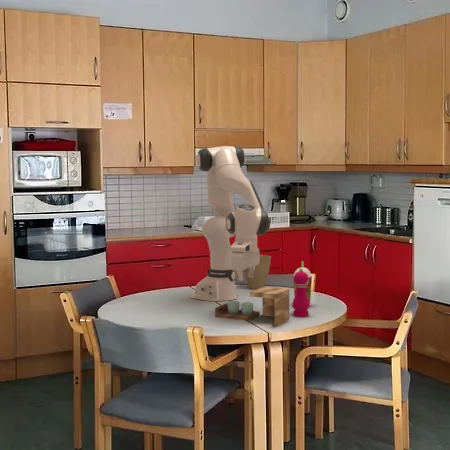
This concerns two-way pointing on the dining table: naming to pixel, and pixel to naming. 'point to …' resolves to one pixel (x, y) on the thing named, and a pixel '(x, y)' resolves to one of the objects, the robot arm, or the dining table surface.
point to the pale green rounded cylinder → (246, 309)
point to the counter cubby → (274, 302)
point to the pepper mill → (300, 295)
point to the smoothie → (308, 288)
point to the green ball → (233, 307)
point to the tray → (223, 312)
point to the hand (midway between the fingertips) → (246, 278)
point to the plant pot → (259, 273)
